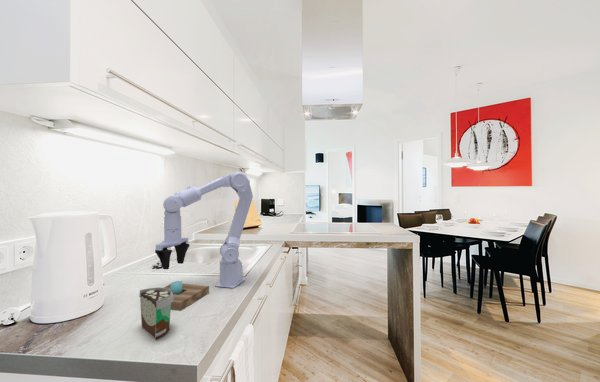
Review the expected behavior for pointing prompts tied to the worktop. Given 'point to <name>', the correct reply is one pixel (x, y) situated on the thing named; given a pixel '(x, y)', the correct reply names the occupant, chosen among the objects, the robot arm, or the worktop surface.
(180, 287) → the teal peg
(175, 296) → the walnut collar plate
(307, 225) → the worktop surface
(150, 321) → the food container
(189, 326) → the worktop surface
